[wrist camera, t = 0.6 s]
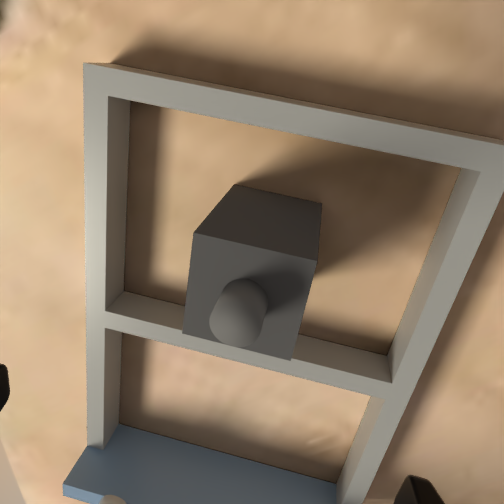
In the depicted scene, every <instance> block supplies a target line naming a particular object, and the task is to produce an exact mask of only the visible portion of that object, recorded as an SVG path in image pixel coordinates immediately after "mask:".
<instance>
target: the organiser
mask: <svg viewBox="0 0 504 504" xmlns="http://www.w3.org/2000/svg"><path fill="white" fill-rule="evenodd" d="M83 92H84V184H85V275H86V367H87V447H86V448H85V450H84V452H83V453H82V455H81V456H80V458H79V459H78V461H77V462H76V464H75V465H74V467H73V469H72V470H71V472H70V473H69V475H68V476H67V478H66V479H65V481H64V483H63V496H67V497H70V498H73V499H77V500H80V501H83V502H87V503H90V504H362V503H363V501H364V499H365V497H366V494H367V492H368V490H369V488H370V486H371V483H372V481H373V479H374V477H375V474H376V472H377V470H378V468H379V466H380V463H381V461H382V459H383V457H384V455H385V452H386V450H387V448H388V446H389V444H390V441H391V439H392V437H393V435H394V432H395V430H396V428H397V426H398V424H399V421H400V419H401V417H402V415H403V413H404V410H405V408H406V406H407V404H408V402H409V399H410V397H411V395H412V393H413V391H414V388H415V386H416V384H417V382H418V379H419V377H420V375H421V373H422V371H423V368H424V366H425V364H426V362H427V360H428V357H429V355H430V353H431V351H432V349H433V346H434V344H435V342H436V340H437V338H438V335H439V333H440V331H441V329H442V326H443V324H444V322H445V320H446V318H447V315H448V313H449V311H450V309H451V307H452V304H453V302H454V300H455V298H456V296H457V293H458V291H459V289H460V287H461V285H462V282H463V280H464V278H465V276H466V273H467V271H468V269H469V267H470V265H471V262H472V260H473V258H474V256H475V254H476V251H477V249H478V247H479V245H480V243H481V240H482V238H483V236H484V234H485V232H486V229H487V227H488V225H489V223H490V220H491V218H492V216H493V214H494V212H495V209H496V207H497V205H498V203H499V201H500V198H501V196H502V194H503V192H504V141H503V140H500V139H495V138H490V137H485V136H480V135H475V134H469V133H464V132H459V131H454V130H449V129H444V128H439V127H434V126H429V125H423V124H418V123H413V122H408V121H403V120H398V119H393V118H388V117H383V116H377V115H372V114H367V113H362V112H357V111H352V110H347V109H342V108H337V107H331V106H326V105H321V104H316V103H311V102H306V101H301V100H296V99H291V98H286V97H280V96H275V95H270V94H265V93H260V92H255V91H250V90H245V89H240V88H234V87H229V86H224V85H219V84H214V83H209V82H204V81H199V80H194V79H188V78H183V77H178V76H173V75H168V74H163V73H158V72H153V71H148V70H142V69H137V68H132V67H127V66H122V65H117V64H112V63H83ZM131 101H136V102H141V103H146V104H151V105H156V106H161V107H165V108H170V109H175V110H180V111H185V112H190V113H195V114H200V115H205V116H210V117H215V118H220V119H224V120H229V121H234V122H239V123H244V124H249V125H254V126H259V127H264V128H269V129H274V130H279V131H283V132H288V133H293V134H298V135H303V136H308V137H313V138H318V139H323V140H328V141H333V142H338V143H342V144H347V145H352V146H357V147H362V148H367V149H372V150H377V151H382V152H387V153H392V154H397V155H402V156H406V157H411V158H416V159H421V160H426V161H431V162H436V163H441V164H446V165H451V166H456V167H461V170H460V173H459V175H458V178H457V180H456V183H455V185H454V188H453V190H452V193H451V196H450V198H449V201H448V203H447V206H446V208H445V211H444V213H443V216H442V218H441V221H440V223H439V226H438V228H437V231H436V233H435V236H434V238H433V241H432V244H431V246H430V249H429V251H428V254H427V256H426V259H425V261H424V264H423V266H422V269H421V271H420V274H419V276H418V279H417V281H416V284H415V286H414V289H413V292H412V294H411V297H410V299H409V302H408V304H407V307H406V309H405V312H404V314H403V317H402V319H401V322H400V324H399V327H398V329H397V332H396V334H395V337H394V340H393V342H392V345H391V347H390V350H389V352H388V355H387V356H385V355H381V354H377V353H373V352H369V351H365V350H360V349H356V348H352V347H348V346H344V345H340V344H336V343H332V342H328V341H324V340H320V339H316V338H312V337H308V336H304V335H300V334H298V336H297V340H296V343H295V347H294V351H293V355H292V358H291V361H288V360H284V359H280V358H276V357H272V356H269V355H265V354H261V353H257V352H253V351H249V350H245V349H241V348H237V347H233V346H229V345H225V344H221V343H217V342H213V341H210V340H206V339H202V338H198V337H194V336H190V335H186V334H182V329H183V320H184V311H185V306H182V305H178V304H174V303H170V302H166V301H162V300H158V299H154V298H150V297H146V296H142V295H138V294H134V293H130V292H126V291H124V268H125V240H126V213H127V185H128V158H129V130H130V103H131ZM122 332H124V333H128V334H132V335H135V336H139V337H143V338H147V339H151V340H155V341H159V342H163V343H167V344H171V345H174V346H178V347H182V348H186V349H190V350H194V351H198V352H202V353H206V354H210V355H213V356H217V357H221V358H225V359H229V360H233V361H237V362H241V363H245V364H248V365H252V366H256V367H260V368H264V369H268V370H272V371H276V372H280V373H284V374H287V375H291V376H295V377H299V378H303V379H307V380H311V381H315V382H319V383H323V384H326V385H330V386H334V387H338V388H342V389H346V390H350V391H354V392H358V393H362V394H365V395H369V396H371V398H370V400H369V403H368V405H367V408H366V410H365V413H364V415H363V418H362V420H361V423H360V425H359V428H358V431H357V433H356V436H355V438H354V441H353V443H352V446H351V448H350V451H349V453H348V456H347V458H346V461H345V463H344V466H343V468H342V471H341V473H340V476H339V479H338V481H337V484H334V483H330V482H327V481H323V480H320V479H316V478H312V477H309V476H305V475H302V474H298V473H294V472H291V471H287V470H284V469H280V468H276V467H273V466H269V465H266V464H262V463H258V462H255V461H251V460H247V459H244V458H240V457H237V456H233V455H229V454H226V453H222V452H219V451H215V450H211V449H208V448H204V447H201V446H197V445H193V444H190V443H186V442H183V441H179V440H175V439H172V438H168V437H165V436H161V435H157V434H154V433H150V432H147V431H143V430H139V429H136V428H132V427H129V426H125V425H121V424H119V405H120V378H121V350H122Z"/></svg>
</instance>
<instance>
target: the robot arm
mask: <svg viewBox="0 0 504 504" xmlns="http://www.w3.org/2000/svg"><path fill="white" fill-rule="evenodd" d="M9 395H10V386H9V377H8V370H7V367H6V366H5V365H4V364H0V411H1V410H2V408H3V407H4V405H5V404H6V402H7V400H8V398H9ZM394 504H445V503H444V501H443V500H442V498H441V497H440V495H439V494H438V493H437V491H436V490H435V488H434V487H433V485H432V484H431V482H430V481H428V480H427V479H425V478H421V477H417V476H414V475H408V476H407V477H406V478H405V480H404V482H403V484H402V486H401V488H400V490H399V492H398V494H397V496H396V498H395V501H394Z"/></svg>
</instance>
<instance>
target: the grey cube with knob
mask: <svg viewBox="0 0 504 504" xmlns="http://www.w3.org/2000/svg"><path fill="white" fill-rule="evenodd" d="M321 211H322V203H317V202H313V201H308V200H303V199H299V198H294V197H290V196H285V195H280V194H276V193H271V192H267V191H262V190H257V189H253V188H248V187H244V186H239V185H233V186H232V188H231V189H230V190H229V191H228V192H227V194H226V195H225V196H224V197H223V198H222V199H221V201H220V202H219V203H218V204H217V205H216V207H215V208H214V209H213V210H212V211H211V213H210V214H209V215H208V216H207V217H206V218H205V220H204V221H203V222H202V223H201V224H200V226H199V227H198V228H197V229H196V230H195V232H194V234H193V242H192V251H191V259H190V268H189V277H188V285H187V294H186V303H185V311H184V320H183V329H182V334H186V335H190V336H194V337H198V338H202V339H206V340H210V341H213V342H217V343H221V344H225V345H229V346H233V347H237V348H241V349H245V350H249V351H253V352H257V353H261V354H265V355H269V356H272V357H276V358H280V359H284V360H288V361H291V358H292V355H293V351H294V347H295V343H296V340H297V336H298V332H299V329H300V325H301V321H302V317H303V314H304V310H305V306H306V302H307V299H308V295H309V291H310V287H311V284H312V280H313V276H314V272H315V269H316V265H317V261H318V249H319V236H320V224H321Z"/></svg>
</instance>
